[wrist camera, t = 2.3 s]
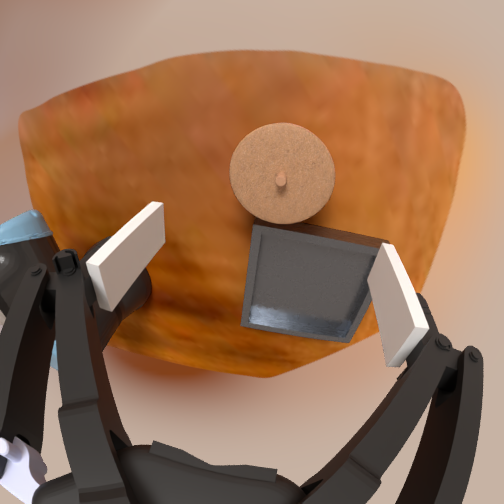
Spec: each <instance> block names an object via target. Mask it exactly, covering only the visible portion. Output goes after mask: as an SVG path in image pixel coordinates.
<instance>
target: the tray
mask: <svg viewBox="0 0 504 504" xmlns="http://www.w3.org/2000/svg"><path fill="white" fill-rule="evenodd" d="M382 243H386V244H390V243H389V241H388V240H383V239H379V238H374V237H369V236H365V235H360V234H355V233H351V232H346V231H341V230H336V229H331V228H326V227H321V226H316V225H310V224H305V223H300V222H297V223H292V224H276V223H271V222H268V221H265V220H262V219H260V218H258V217H256V218H255V221H254V224H253V230H252V238H251V246H250V254H249V262H248V270H247V278H246V286H245V294H244V302H243V311H242V319H241V326H244V327H249V328H254V329H260V330H265V331H271V332H276V333H282V334H288V335H294V336H301V337H307V338H314V339H321V340H328V341H336V342H344V343H349V342H350V340H351V339H352V337H353V335H354V333H355V331H356V330H357V328H358V326H359V324H360V322H361V320H362V318H363V316H364V315H365V313H366V311H367V309H368V307H369V305H370V303H371V301H372V297H371V293H370V289H369V285H368V281H367V279H368V276H369V274H370V272H371V269H372V267H373V264H374V262H375V259H376V257H377V254H378V252H379V249H380V247H381V244H382Z"/></svg>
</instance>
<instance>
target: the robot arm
mask: <svg viewBox="0 0 504 504" xmlns="http://www.w3.org/2000/svg"><path fill="white" fill-rule="evenodd" d="M52 234H53V232H52V231H50V229H49V227H48V225H47V223H46V222H45V220H44V218H43V216H42V214H41V213H40V212H39V211H37V210H29V211H26V212H24V213H22V214H20V215H18V216H16V217H14V218H12V219H10V220H8V221H7V222H5V223H3V224H1V225H0V325H3V328H2V331H1V333H0V484H1V485H2V486H3V487H4V488H5V489H7V490H8V491H9V492H10V493H12V494H13V495H14V496H16V497H17V498H18V499H20V500H21V501H22V502H24V503H25V504H366V503H367V501H368V500H369V499H370V498H371V497H372V496H373V494H374V493H375V492H376V491H377V489H378V488H379V486H380V484H381V480H380V478H381V476H382V475H383V473H384V472H385V471H386V470H387V468H388V467H389V465H390V464H391V462H392V461H393V460H394V459H395V457H396V456H397V454H398V453H399V451H400V450H401V448H402V447H403V445H404V444H405V442H406V441H407V439H408V438H409V436H410V435H411V433H412V431H413V430H414V428H415V426H416V425H417V423H418V421H419V419H420V418H421V416H422V414H423V412H424V411H425V409H426V407H427V405H428V403H429V401H430V399H431V397H432V400H431V404H430V409H429V413H428V416H427V420H426V424H425V427H424V431H423V435H422V438H421V441H420V444H419V447H418V450H417V453H416V456H415V459H414V461H413V464H412V466H411V469H410V472H409V474H408V477H407V479H406V482H405V484H404V486H403V488H402V491H401V493H400V495H399V497H398V499H397V501H396V503H395V504H462V501H463V498H464V495H465V492H466V489H467V485H468V482H469V478H470V474H471V470H472V466H473V462H474V457H475V452H476V447H477V441H478V435H479V428H480V420H481V410H482V397H483V357H482V355H481V353H480V351H479V350H478V349H477V348H475V347H473V346H467V347H466V348H465V349H464V351H463V352H461V351H459V350H456V349H453V348H452V344H451V342H450V340H449V339H448V338H447V337H446V336H444V335H443V334H439V332H438V329H437V327H436V324H435V322H434V319H433V316H432V315H431V312H430V310H429V307H428V304H427V302H426V300H425V299H424V298H423V296H422V295H421V294H420V293H415V291H414V288H413V286H412V284H411V282H410V279H409V277H408V275H407V273H406V271H405V268H404V266H403V264H402V262H401V260H400V258H399V256H398V254H397V252H396V250H395V248H394V246H393V245H391V244H386V243H382V244H381V247H380V249H379V252H378V254H377V257H376V259H375V262H374V264H373V267H372V269H371V272H370V274H369V276H368V279H367V281H368V285H369V289H370V293H371V297H372V301H373V305H374V309H375V313H376V317H377V322H378V326H379V331H380V336H381V341H382V346H383V351H384V356H385V362H386V366H387V367H400V366H401V365H402V364H403V363H404V361H405V360H406V362H407V368H406V369H405V370H404V371H403V372H402V373H401V374H400V375H399V377H398V378H397V382H396V383H395V384H394V386H393V387H392V389H391V390H390V392H389V393H388V394H387V396H386V397H385V398H384V400H383V401H382V402H381V404H380V405H379V406H378V407H377V409H376V410H375V411H374V413H373V414H372V415H371V416H370V418H369V419H368V420H367V421H366V422H365V424H364V425H363V426H362V427H361V428H360V429H359V431H358V432H357V433H356V434H355V435H354V436H353V437H352V439H351V440H350V441H349V442H348V443H347V444H346V445H345V446H344V447H343V448H342V449H341V450H340V451H339V452H338V454H336V456H335V457H334V458H333V459H332V460H331V461H330V462H328V463H327V464H326V465H325V467H323V468H322V469H321V470H320V471H319V472H318V473H317V474H315V475H314V476H312V477H311V478H310V479H308V480H307V481H306V482H305V483H304V484H302V485H301V486H300V487H299V486H297V485H296V484H295V483H294V482H292V481H290V480H289V479H287V478H285V477H283V476H281V475H278V474H277V469H272V468H264V467H257V466H250V465H228V466H226V465H225V466H215V465H210V464H208V463H206V462H204V461H202V460H200V459H198V458H196V457H194V456H193V455H191V454H189V453H187V452H185V451H183V450H181V449H178V448H175V447H172V446H169V445H165V444H162V443H160V442H157V441H153V443H152V445H134V446H132V444H131V441H130V440H129V437H128V435H127V434H126V432H125V430H124V428H123V425H122V422H121V419H120V416H119V413H118V410H117V407H116V404H115V400H114V397H113V394H112V390H111V387H110V383H109V379H108V375H107V371H106V367H105V363H104V358H103V354H102V352H103V350H104V348H105V347H106V345H107V343H108V342H109V340H110V339H111V337H112V335H113V334H114V332H115V331H116V329H117V327H118V326H119V324H120V323H121V321H122V320H123V319H124V318H126V317H127V316H128V315H130V314H131V313H132V312H134V311H135V310H137V309H139V308H140V307H142V306H143V304H144V303H145V302H146V300H147V299H148V297H149V295H150V293H151V280H150V277H149V274H148V272H147V270H146V268H145V267H146V266H147V264H148V263H149V262H150V260H151V259H152V258H153V257H154V255H155V254H156V253H157V252H158V250H159V249H160V248H161V247H162V245H163V244H164V243H165V230H164V210H163V203H159V202H151V203H150V204H149V205H148V206H146V207H145V208H144V209H143V210H142V211H141V212H139V213H138V214H137V215H136V216H135V217H134V218H132V219H131V220H130V221H129V222H128V223H127V224H126V225H125V226H123V227H122V228H121V229H120V230H119V231H118V232H117V233H116V234H115V235H114V236H109V237H107V238H105V239H103V240H101V241H100V242H97V243H96V244H94V245H93V246H92V247H91V248H90V249H89V250H88V251H87V252H86V254H85V256H84V257H83V258H82V259H81V260H80V261H79V259H78V255H77V252H76V251H75V250H74V249H64V250H62V251H60V249H59V247H58V245H57V243H56V241H55V239H54V237H53V235H52ZM50 366H51V367H53V368H55V369H56V370H58V373H59V383H60V390H61V396H62V407H61V408H59V410H58V418H59V423H60V428H61V433H62V437H63V441H64V445H65V450H66V453H67V457H68V461H69V464H70V468H71V471H72V472H71V473H69V474H66V475H64V476H61V477H58V478H56V479H53V480H50V481H48V482H46V480H45V477H44V475H45V474H46V473H47V466H46V464H45V463H44V462H43V459H42V457H41V455H40V454H41V448H42V442H43V431H44V411H45V400H46V391H47V382H48V375H49V368H50Z"/></svg>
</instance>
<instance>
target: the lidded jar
mask: <svg viewBox="0 0 504 504" xmlns="http://www.w3.org/2000/svg"><path fill="white" fill-rule="evenodd" d="M229 175H230V182H231V187H232V189H233V192H234V194H235V196H236V197H237V199H238V201H239V202H240V203H241V204H242V206H243V207H244V208H245V209H246V210H248V211H249V212H250V213H251V214H253V215H254V216H256V217H258V218H260V219H262V220H265V221H268V222H271V223H276V224H292V223H297V222H301V221H303V220H306V219H308V218H310V217H312V216H313V215H315V214H316V213H317V212H319V211H320V210H321V209H322V208H323V207H324V206H325V204H326V203H327V201H328V200H329V198H330V196H331V194H332V192H333V188H334V184H335V167H334V163H333V159H332V157H331V155H330V152H329V151H328V149H327V148H326V146H325V145H324V143H323V142H322V141H321V140H320V139H319V138H318V137H317V136H316V135H314V134H313V133H312V132H310V131H309V130H307V129H305V128H303V127H301V126H298V125H295V124H290V123H274V124H269V125H265V126H262V127H260V128H258V129H256V130H254V131H252V132H251V133H249V134H248V135H247V136H246V137H245V138H244V139H243V140H242V141H241V142H240V143H239V144H238V146H237V147H236V149H235V151H234V153H233V155H232V158H231V162H230V169H229Z"/></svg>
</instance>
